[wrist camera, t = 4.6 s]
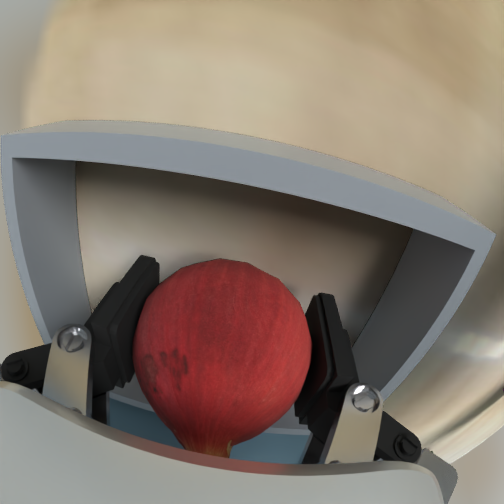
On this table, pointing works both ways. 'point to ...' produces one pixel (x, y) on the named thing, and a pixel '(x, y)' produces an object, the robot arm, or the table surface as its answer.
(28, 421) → the robot arm
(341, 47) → the table surface
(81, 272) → the grey crate
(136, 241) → the table surface
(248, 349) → the onion
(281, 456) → the blue bin
